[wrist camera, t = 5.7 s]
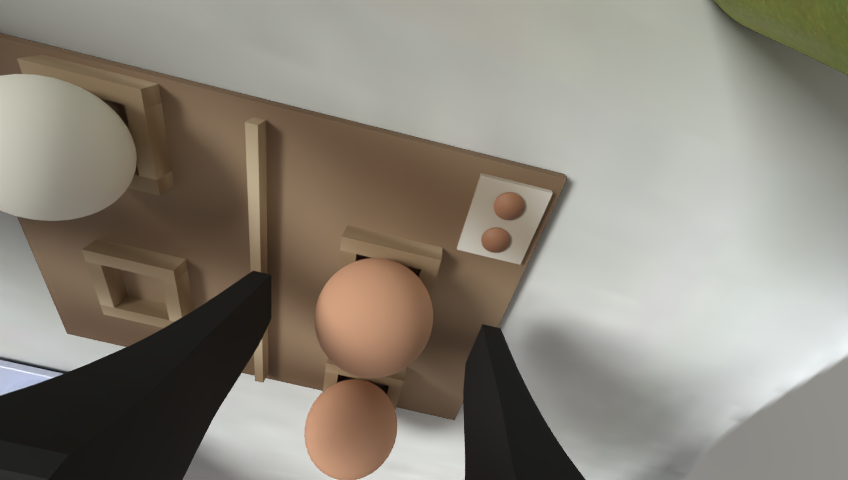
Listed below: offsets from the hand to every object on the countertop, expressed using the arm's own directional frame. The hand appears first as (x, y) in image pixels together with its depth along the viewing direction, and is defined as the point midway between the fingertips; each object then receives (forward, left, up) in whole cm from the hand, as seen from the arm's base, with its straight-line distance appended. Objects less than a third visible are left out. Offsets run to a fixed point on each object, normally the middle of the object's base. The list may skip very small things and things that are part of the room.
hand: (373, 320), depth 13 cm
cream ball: (+4, +10, 0) cm, 11 cm away
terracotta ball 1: (0, 0, 0) cm, 0 cm away
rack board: (-2, +5, -3) cm, 6 cm away
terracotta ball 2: (-7, 0, 0) cm, 7 cm away
